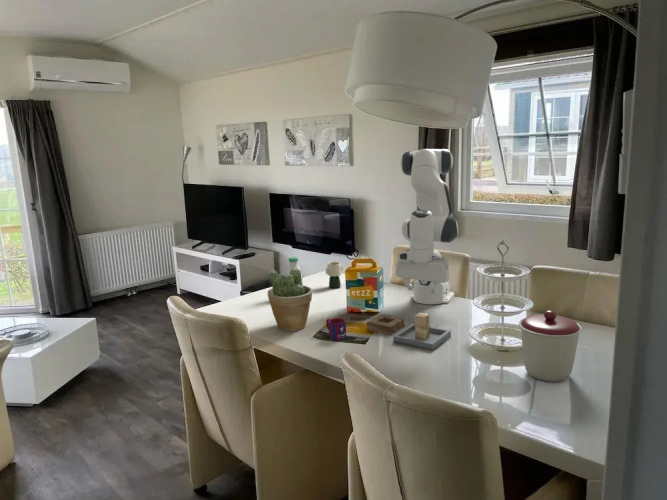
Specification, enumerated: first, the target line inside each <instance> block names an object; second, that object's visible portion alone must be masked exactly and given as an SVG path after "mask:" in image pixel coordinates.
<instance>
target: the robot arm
mask: <svg viewBox="0 0 667 500" xmlns="http://www.w3.org/2000/svg"><path fill="white" fill-rule="evenodd" d="M453 165H454V156H453V154H452V152H451V151H450V150H449V149H446V148H441V149H440V148H422V149H419V150H413V151H412V150H410V151H409V150H408V151H405V152H404V153H403V154H402V156H401V158H400V169H401V171H402V172H403V174H404V175H406V176H410V182H411V183H410V184H411V187H412V188H413V190H414V191H415V198H416V199H415V200H416V206H417V207H418V208H419V209H416V210H414V211H412V212H411V214H410V218H408V219H405V220H404V221H403V223H402V225H401V234H402V236H403V238H404V239H405V240H406V241H408V242H409V249H406V250H404V251H401V252H400V253H397V259H398V260H396V264H395V274H396V276H397V277H398V278H403V279H404V281H405V283H406V285H407V290H409V291H413V294H411V296H410V298H411V299H413V300H414V302H415V303H419V304H421V305H438V304H449V303H450V301H451V300H452V299H453V297H454V296H455V293H454V292H453V291H450V283H449V282H448V281H449V280H450V269H449V267H450V262H449V259H447V258H446V257H444V256H442V255H441V253H440V252H439V251H438V250H437V249H435V244H434V243H447V244H448V243H449V244H450V243H451V242H453V241H454V240H456V238H457V237H458V235H459V225H458V224H459V223H458V221H457V219H456V215H455V212H454V207H453V204H452V198H451V194H450V190H449V187H448V184H447V183H446V182H445V181H444V180H442V179H441V175H442V176H444V175H446V174H448V173H450V172H451V171H452V169H453ZM440 174H441V175H440ZM411 280H415V281H414V282H413V284H412V281H411Z"/></svg>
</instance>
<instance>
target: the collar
mask: <svg viewBox="0 0 667 500" xmlns="http://www.w3.org/2000/svg"><path fill="white" fill-rule="evenodd" d="M404 328H406V318H405V317H400V316H398V317H397V316H395V315H393V316H392V315H389V314H388V315H387V314H381V313H380V314H379V315H376V316H375V317H373V318H371V319H370V320H368V321H366V330H367V331H368V330H369V331H368V332H373V333H379V334H385V335H388V336H394V334H397V333H398V332H400V330H403V329H404Z"/></svg>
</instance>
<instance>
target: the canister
mask: <svg viewBox="0 0 667 500" xmlns="http://www.w3.org/2000/svg"><path fill="white" fill-rule="evenodd" d="M518 327H519V328H520V330H521V331H520V333H521V344H522V345H521V346H522V355H523V357H522V358H523V364H524V365H523V366H524V368H525V371H526V372H527V374H528V375H529V376H531V377H532V378H534V379H536V380H540V381H544V382H551V383H552V382H562V381H565V380H567V379H568V378H569V377H570V376H571V374H572V371H573V368H574V363H575V359H576V354H577V349H578V343H579V339H580V338H579V337H580V334H581V332H582V331H583V328H582V326H581V324H579V323H578V322H576V321H575V320H573V319H571V318H569V317H567V316H562V315H557V313H556V312H555V311H554V310H552V309H551V310H546V311H544V313H540V314H532V315H529V316H525V317H524V318H522V319H520V320H519V321H518Z"/></svg>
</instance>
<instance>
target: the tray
mask: <svg viewBox="0 0 667 500" xmlns="http://www.w3.org/2000/svg"><path fill="white" fill-rule="evenodd" d="M429 329H430V337H429V338H427V339H426V340H421V339H416V338H415V323H411V324H410V325H408V326H407V327H404V328H403V329H401V331H398V332H397V333H395V335H392V337H393V344H394V343H395V344H398V345H402V346H407V347H413V348H417V349H422V350H426V351H427V350H428V351H432V352H433V351H435V350H436V349H437V348H438V347H440V346H441V345H442V344H444V343H446V341H447V340H448V339H450V338H451V336H452V335H451V334H452V332H451V331H452V330H450V329H443V328H439V327H432V326H429Z"/></svg>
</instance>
